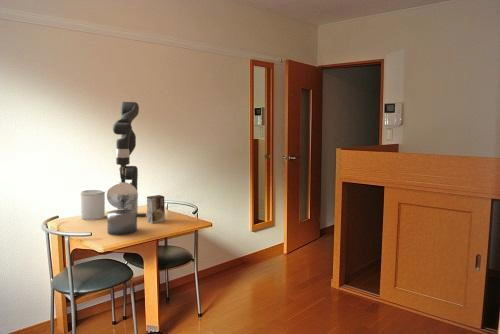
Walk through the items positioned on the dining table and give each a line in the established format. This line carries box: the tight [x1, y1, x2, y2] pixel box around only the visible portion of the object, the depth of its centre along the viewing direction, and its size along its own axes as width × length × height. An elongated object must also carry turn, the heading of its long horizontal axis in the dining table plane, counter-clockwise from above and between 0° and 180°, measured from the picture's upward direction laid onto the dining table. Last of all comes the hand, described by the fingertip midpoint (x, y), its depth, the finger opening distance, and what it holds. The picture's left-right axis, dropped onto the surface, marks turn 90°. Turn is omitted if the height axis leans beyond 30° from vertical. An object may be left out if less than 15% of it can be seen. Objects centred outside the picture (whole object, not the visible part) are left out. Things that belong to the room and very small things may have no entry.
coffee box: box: [146, 194, 166, 224], centre depth 246 cm, size 9×6×16 cm
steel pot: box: [106, 209, 147, 236], centre depth 223 cm, size 16×21×11 cm
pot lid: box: [106, 181, 139, 210], centre depth 227 cm, size 18×17×3 cm
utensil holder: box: [79, 188, 106, 221], centre depth 253 cm, size 15×15×18 cm
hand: (123, 185), depth 234 cm, fingers closed
